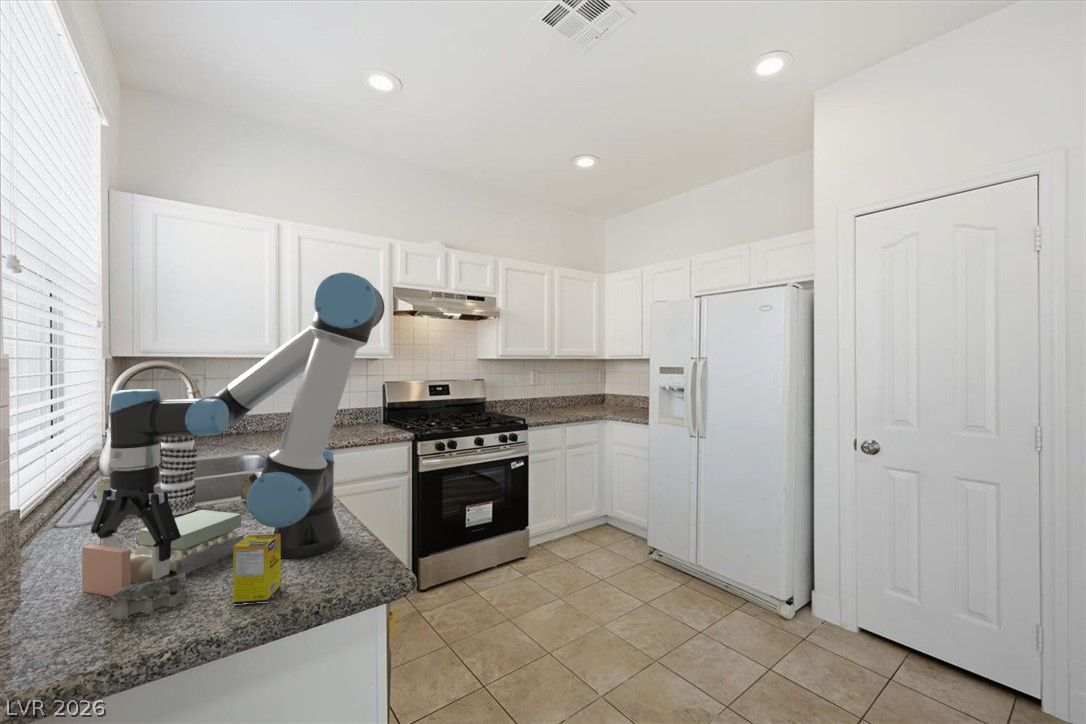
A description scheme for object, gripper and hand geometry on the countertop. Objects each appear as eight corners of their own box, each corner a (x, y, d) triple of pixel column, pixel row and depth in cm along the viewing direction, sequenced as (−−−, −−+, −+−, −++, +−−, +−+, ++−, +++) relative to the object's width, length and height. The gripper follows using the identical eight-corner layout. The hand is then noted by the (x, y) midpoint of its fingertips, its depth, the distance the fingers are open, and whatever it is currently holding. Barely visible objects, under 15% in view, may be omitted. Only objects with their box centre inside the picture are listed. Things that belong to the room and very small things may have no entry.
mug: (100, 522, 128) (100, 485, 128) (85, 514, 135) (85, 479, 135) (139, 514, 135) (139, 479, 135) (122, 506, 142) (122, 473, 142)
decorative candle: (153, 511, 137) (154, 425, 137) (192, 504, 144) (192, 422, 144) (161, 518, 131) (161, 429, 131) (200, 510, 139) (201, 425, 138)
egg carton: (106, 624, 80) (106, 600, 80) (114, 605, 86) (114, 583, 86) (185, 606, 86) (185, 583, 86) (187, 589, 92) (187, 568, 92)
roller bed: (243, 548, 111) (243, 526, 111) (178, 577, 96) (178, 552, 96) (198, 542, 115) (198, 521, 115) (128, 569, 100) (128, 545, 100)
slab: (241, 526, 111) (241, 514, 111) (182, 549, 98) (182, 535, 98) (200, 522, 114) (201, 509, 114) (139, 543, 101) (139, 529, 101)
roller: (165, 578, 96) (165, 554, 96) (138, 590, 91) (138, 564, 91) (131, 573, 98) (131, 549, 98) (103, 584, 93) (104, 559, 93)
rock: (230, 494, 147) (231, 497, 139) (249, 470, 151) (251, 472, 143) (262, 511, 152) (265, 515, 143) (280, 487, 155) (284, 489, 147)
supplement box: (281, 588, 92) (281, 532, 92) (267, 604, 86) (268, 544, 86) (248, 590, 91) (248, 534, 91) (232, 606, 85) (232, 546, 85)
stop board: (130, 594, 89) (130, 549, 89) (121, 598, 88) (121, 552, 88) (91, 587, 92) (91, 544, 92) (82, 591, 90) (82, 547, 90)
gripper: (67, 466, 94) (67, 573, 94) (164, 475, 88) (163, 588, 88) (110, 459, 101) (109, 557, 101) (202, 466, 95) (201, 571, 95)
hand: (134, 572), depth 95 cm, fingers open, 13 cm apart
